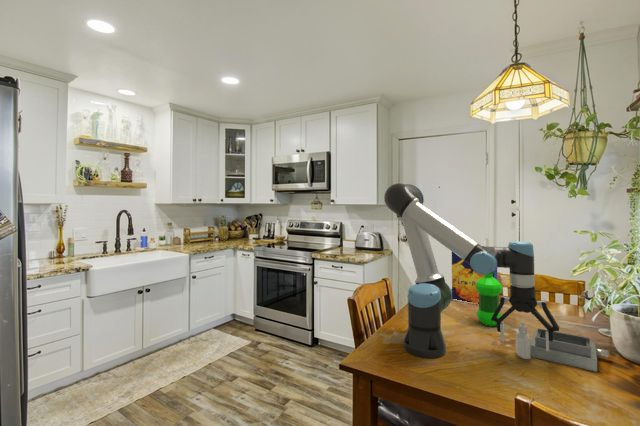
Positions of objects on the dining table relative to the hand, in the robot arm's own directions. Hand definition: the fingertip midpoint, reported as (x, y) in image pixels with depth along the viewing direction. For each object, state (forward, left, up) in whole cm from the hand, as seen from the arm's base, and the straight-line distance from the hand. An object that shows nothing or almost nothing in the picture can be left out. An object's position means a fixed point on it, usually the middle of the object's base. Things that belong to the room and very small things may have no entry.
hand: (524, 345), depth 114 cm
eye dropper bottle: (0, 0, -4) cm, 4 cm away
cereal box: (+57, +29, -4) cm, 64 cm away
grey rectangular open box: (+9, -12, -4) cm, 16 cm away
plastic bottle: (+27, +16, -4) cm, 32 cm away
